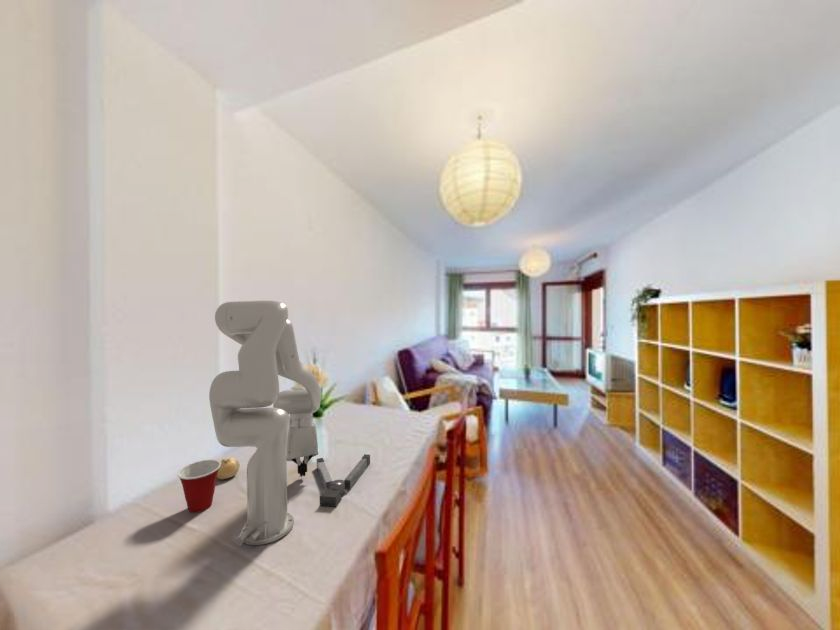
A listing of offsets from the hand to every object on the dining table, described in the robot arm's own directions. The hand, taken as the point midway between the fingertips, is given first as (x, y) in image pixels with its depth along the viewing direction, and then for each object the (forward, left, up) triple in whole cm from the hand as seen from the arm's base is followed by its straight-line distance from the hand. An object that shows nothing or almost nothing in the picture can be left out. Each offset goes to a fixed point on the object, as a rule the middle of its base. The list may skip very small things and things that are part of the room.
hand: (302, 474), depth 114 cm
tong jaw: (0, -10, -2) cm, 10 cm away
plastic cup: (-20, +21, -2) cm, 30 cm away
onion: (-1, +28, -2) cm, 29 cm away
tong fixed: (0, -17, -1) cm, 17 cm away
